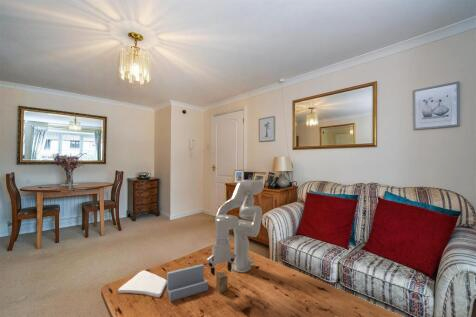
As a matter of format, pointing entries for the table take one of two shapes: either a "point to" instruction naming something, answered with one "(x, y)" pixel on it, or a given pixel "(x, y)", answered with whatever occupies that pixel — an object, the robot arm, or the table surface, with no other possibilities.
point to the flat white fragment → (144, 284)
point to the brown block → (221, 282)
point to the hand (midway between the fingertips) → (221, 272)
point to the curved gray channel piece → (186, 282)
